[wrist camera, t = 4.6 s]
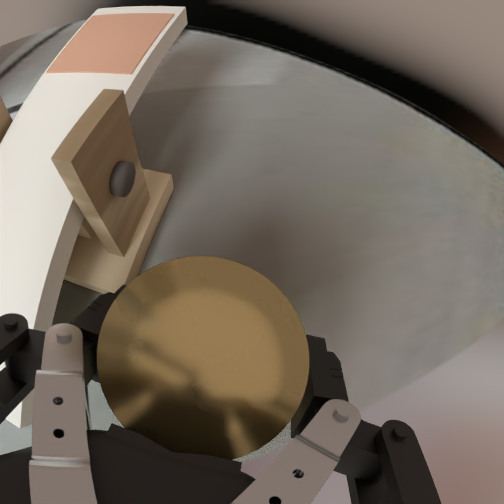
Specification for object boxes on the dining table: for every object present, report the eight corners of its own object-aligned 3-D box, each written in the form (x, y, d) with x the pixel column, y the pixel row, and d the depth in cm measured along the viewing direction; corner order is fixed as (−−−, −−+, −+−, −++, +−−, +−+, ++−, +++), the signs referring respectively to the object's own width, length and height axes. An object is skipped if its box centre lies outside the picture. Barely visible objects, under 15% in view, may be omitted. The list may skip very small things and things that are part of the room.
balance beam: (-45, 363, 11) (-63, 364, 9) (102, 22, 17) (97, 7, 15) (36, 421, 11) (18, 429, 9) (187, 23, 17) (185, 5, 15)
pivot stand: (0, 252, 17) (-80, 174, 8) (49, 162, 20) (3, 69, 12) (128, 302, 17) (55, 214, 8) (174, 188, 20) (157, 66, 12)
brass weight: (145, 407, 15) (74, 419, 6) (173, 311, 17) (136, 235, 9) (249, 436, 15) (282, 481, 6) (272, 337, 17) (325, 284, 9)
